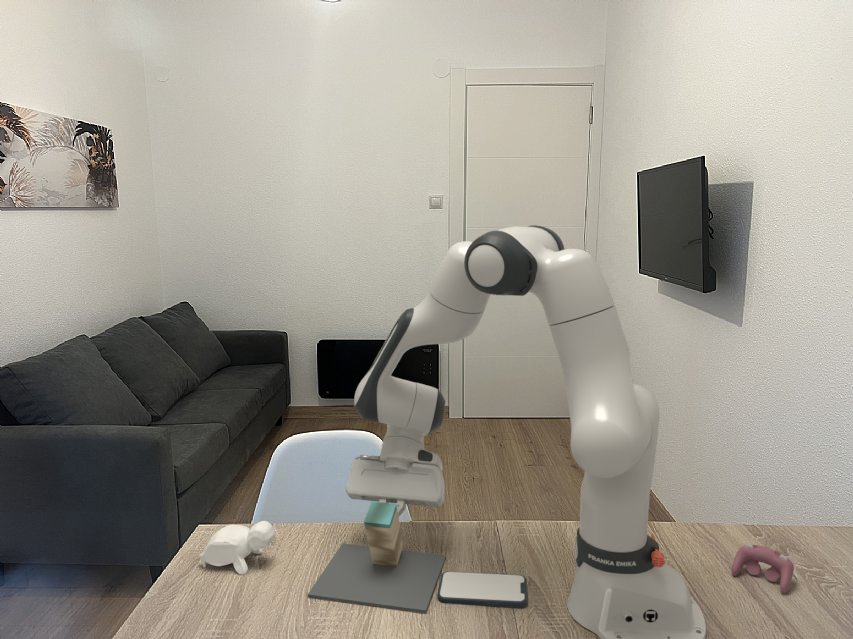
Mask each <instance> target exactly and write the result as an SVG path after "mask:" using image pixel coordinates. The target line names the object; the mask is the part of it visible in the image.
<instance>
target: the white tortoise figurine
mask: <svg viewBox="0 0 853 639" xmlns="http://www.w3.org/2000/svg"><path fill="white" fill-rule="evenodd" d="M275 533H276V531H275V529H274V527H273V525H272V523H270V522H268V521H267V520H261V521H259V522H257V523H255V524H253V525H252V526H251V527H248V526H245V525H243V524H241V525H240V524H238V525H237V524H228V525H227V526H224V527H221V528H220V529H219V530H217V531H215V533H214V534H213V535H211V537H210V539H209V540H208V542H207V544H206V546H205V547H204V548H203V551H202V552H201V553H199V555H198V558H199V559H200V560H201V561H200V563H201V565H202V567H203V568H206V567H207V564H209V565H211V566H215V567H222V566H227V565H230V564H233V567H234V570H235V572H237V573H238V575H243V576H244V575H246V574H247V573H248V571H249V568H248V565H247V563H246V560H245V559H246V558H247V557H248V556H249V555H250V554H251V553H253V554H255V555H261V554H262V553H263V551H264V549H265V548H266V547H268V546H270V544H271V543H272V541H273V540H274V538H275Z"/></svg>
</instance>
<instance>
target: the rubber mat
mask: <svg viewBox="0 0 853 639" xmlns="http://www.w3.org/2000/svg"><path fill="white" fill-rule="evenodd" d="M446 559H447V555H446V554H440V553H431V552H424V551H422V552H421V551H415V550H405V549H402V552H401V555H400V559H399V562H398V566H389V565H380V564H373V563H372V558H371V553H370V549H369V545H365V544H364V545H363V544H355V543H347V542H342V543H341V544H340V546H339V548H338V549H337V550H336V551H335V553H334V555H333V556H332V557H331V560H330V561H329V562H328V563H327V565H326V567H324V570H323V571H322V572H321V574H320V576H319V577H318V578H317V580H316V581H315V582H314V584H313V586H312V587H311V589H310V590H309V592H308V593H307V598H310V599H316V600H317V599H318V600H323V599H324V600H325V601H331V600H332V602H338V601H340V602H339V603H345V602H349V603H348V604H352V603H354V605H362V606H368V607H376V608H382V609H383V608H384V609H391V610H396V609H398V611H404V612H412V613H419V614H427V612H428V609H429V606H430V603H431V601H432V597H433V594H434V593H435V589H436V587H437V584H438V581H439V578H440V577H441V574H442V570H443V568H444V565H445V561H446Z"/></svg>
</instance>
